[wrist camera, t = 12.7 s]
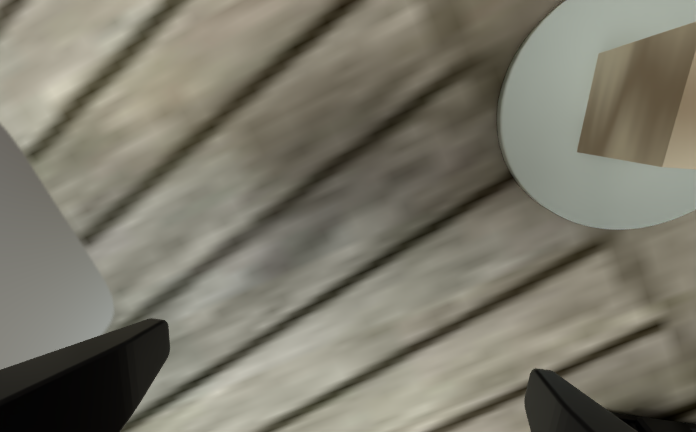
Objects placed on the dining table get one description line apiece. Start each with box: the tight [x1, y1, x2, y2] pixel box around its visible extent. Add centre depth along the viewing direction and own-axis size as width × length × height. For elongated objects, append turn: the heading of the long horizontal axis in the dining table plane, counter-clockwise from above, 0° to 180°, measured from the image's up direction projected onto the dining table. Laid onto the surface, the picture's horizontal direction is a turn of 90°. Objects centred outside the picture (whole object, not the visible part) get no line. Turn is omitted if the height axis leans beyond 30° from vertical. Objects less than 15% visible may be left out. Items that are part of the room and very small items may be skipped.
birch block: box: [577, 22, 696, 169], centre depth 14 cm, size 4×4×6 cm
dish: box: [497, 0, 696, 230], centre depth 18 cm, size 12×12×1 cm
